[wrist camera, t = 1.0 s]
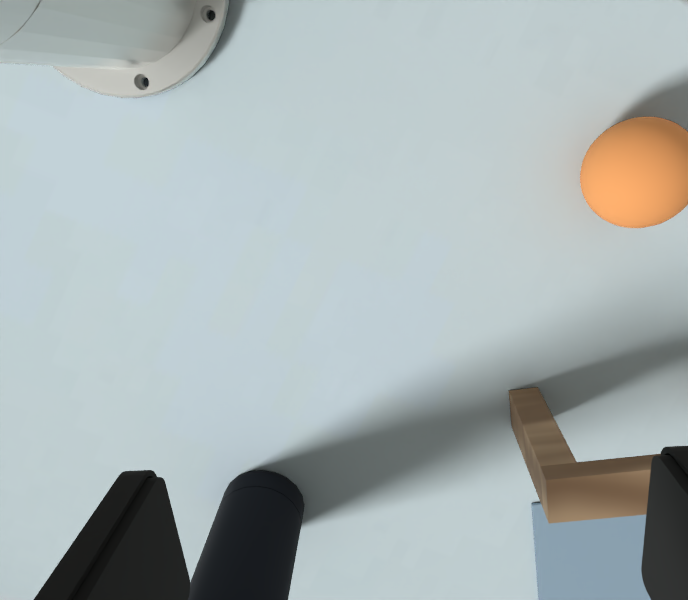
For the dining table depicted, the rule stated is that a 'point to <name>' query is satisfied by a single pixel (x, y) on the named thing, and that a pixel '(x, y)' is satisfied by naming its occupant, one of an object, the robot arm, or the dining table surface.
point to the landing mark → (589, 558)
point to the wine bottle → (251, 541)
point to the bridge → (574, 469)
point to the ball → (637, 172)
